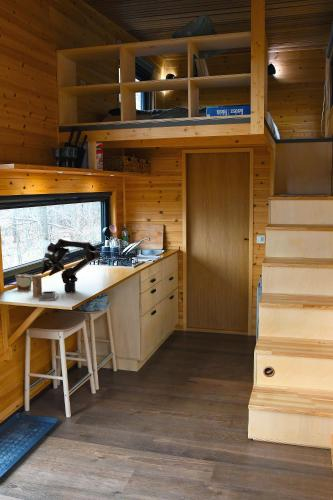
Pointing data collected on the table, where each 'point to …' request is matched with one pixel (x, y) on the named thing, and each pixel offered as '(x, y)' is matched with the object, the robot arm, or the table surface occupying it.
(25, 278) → the food container
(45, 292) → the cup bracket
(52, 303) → the table surface
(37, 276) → the walnut post
